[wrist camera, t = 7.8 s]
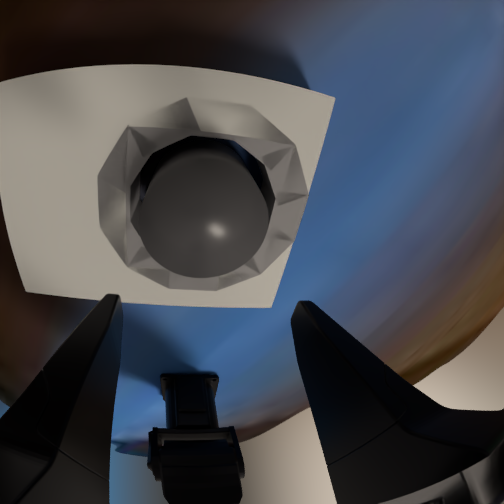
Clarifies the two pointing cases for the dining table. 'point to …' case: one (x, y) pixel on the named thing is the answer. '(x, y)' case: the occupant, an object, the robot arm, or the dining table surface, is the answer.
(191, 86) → the board
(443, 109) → the dining table surface
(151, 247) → the cap
